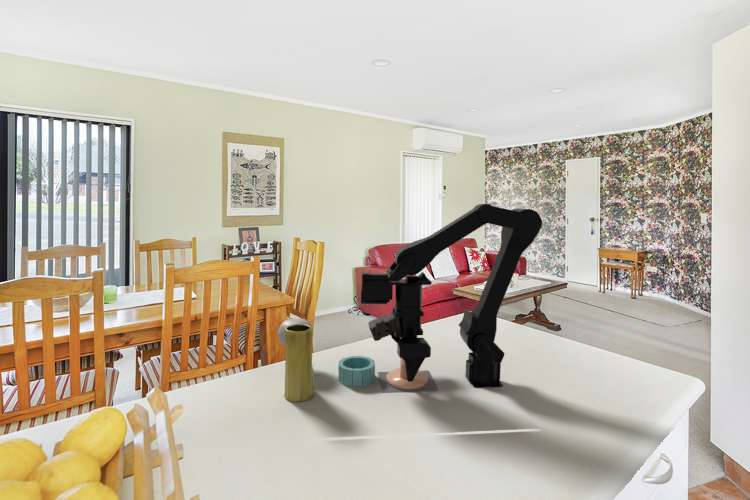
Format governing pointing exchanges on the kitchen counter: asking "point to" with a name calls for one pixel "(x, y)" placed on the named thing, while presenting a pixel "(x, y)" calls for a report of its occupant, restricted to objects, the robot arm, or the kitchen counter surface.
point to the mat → (387, 389)
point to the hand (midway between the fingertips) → (407, 373)
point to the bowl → (356, 371)
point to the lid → (399, 379)
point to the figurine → (287, 323)
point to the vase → (298, 363)
